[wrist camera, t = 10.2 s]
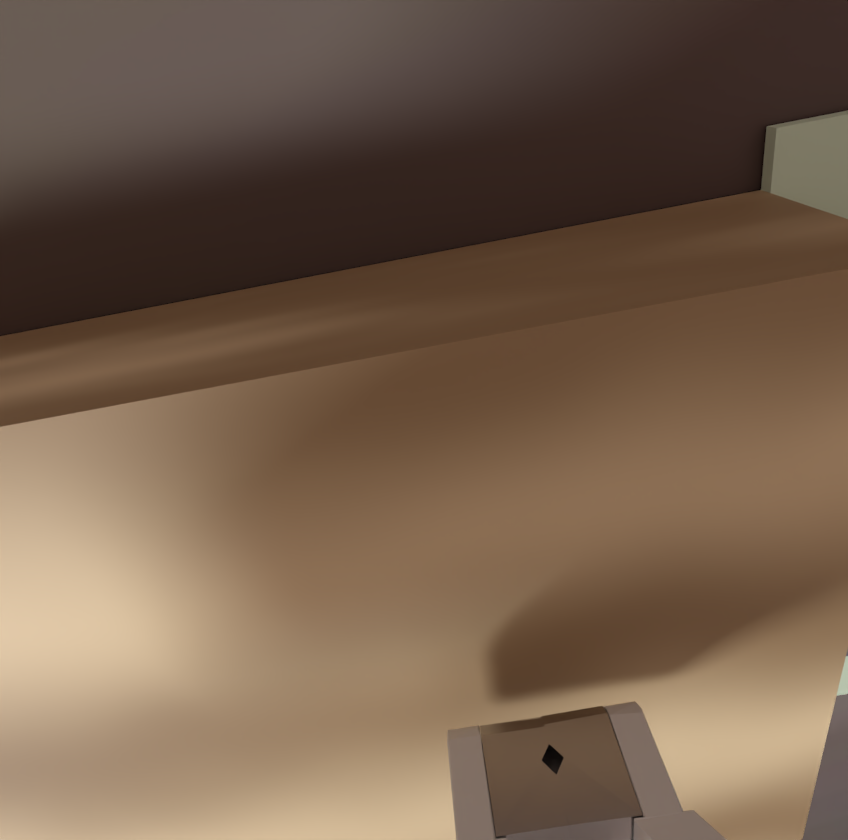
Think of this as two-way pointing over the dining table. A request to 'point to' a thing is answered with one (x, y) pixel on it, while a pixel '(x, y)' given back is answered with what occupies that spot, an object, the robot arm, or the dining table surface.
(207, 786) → the square wooden plank
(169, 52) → the dining table surface
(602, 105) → the dining table surface
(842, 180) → the mat
